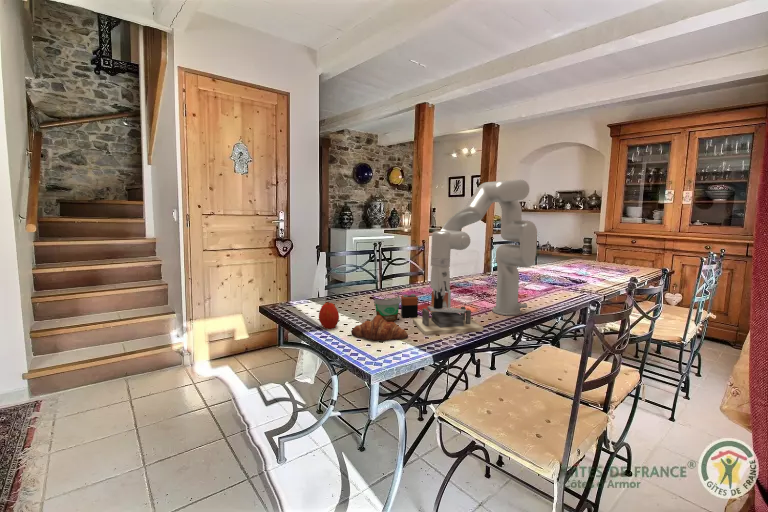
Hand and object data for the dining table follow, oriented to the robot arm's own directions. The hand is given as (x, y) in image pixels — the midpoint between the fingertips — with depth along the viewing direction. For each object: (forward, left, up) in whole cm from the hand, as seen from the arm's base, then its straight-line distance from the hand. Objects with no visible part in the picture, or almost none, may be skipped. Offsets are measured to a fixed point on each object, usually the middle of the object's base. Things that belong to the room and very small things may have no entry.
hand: (438, 307), depth 148 cm
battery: (+7, -17, -9) cm, 21 cm away
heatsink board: (-4, 0, -8) cm, 9 cm away
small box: (-9, -20, -9) cm, 24 cm away
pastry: (+25, +5, -9) cm, 27 cm away
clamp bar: (-4, 0, -2) cm, 5 cm away
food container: (+17, -12, -8) cm, 23 cm away
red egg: (+43, -9, -8) cm, 45 cm away
